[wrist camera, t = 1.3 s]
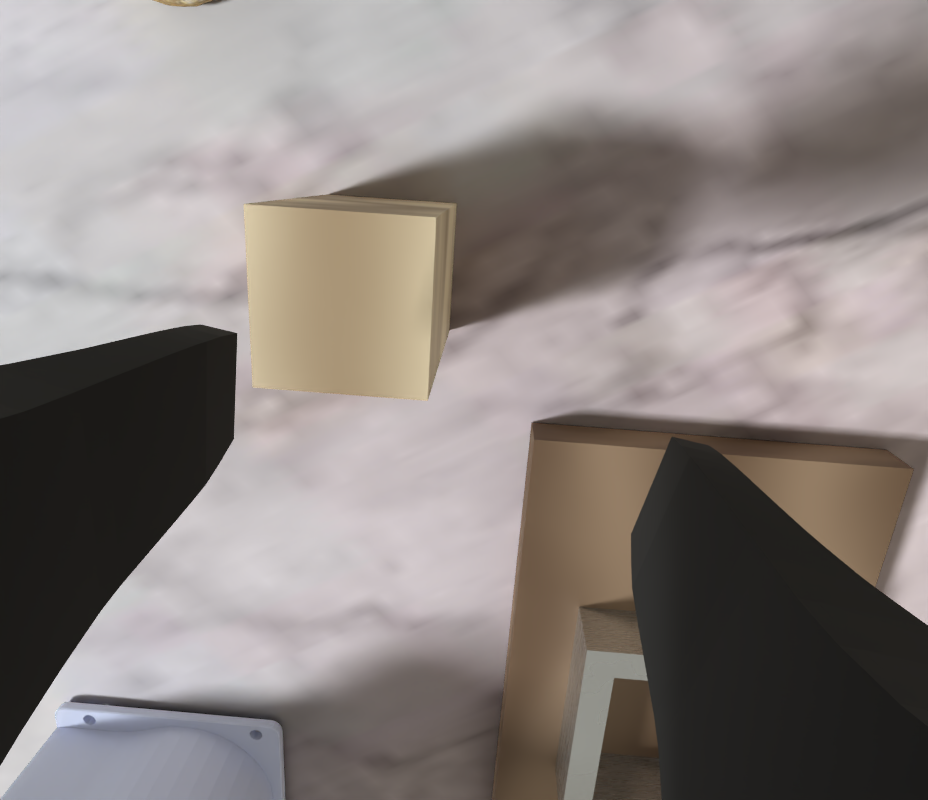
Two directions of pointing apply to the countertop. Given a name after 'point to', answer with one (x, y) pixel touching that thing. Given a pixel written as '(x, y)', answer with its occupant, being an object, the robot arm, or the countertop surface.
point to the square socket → (601, 712)
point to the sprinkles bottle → (183, 2)
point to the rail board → (609, 565)
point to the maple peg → (349, 293)
